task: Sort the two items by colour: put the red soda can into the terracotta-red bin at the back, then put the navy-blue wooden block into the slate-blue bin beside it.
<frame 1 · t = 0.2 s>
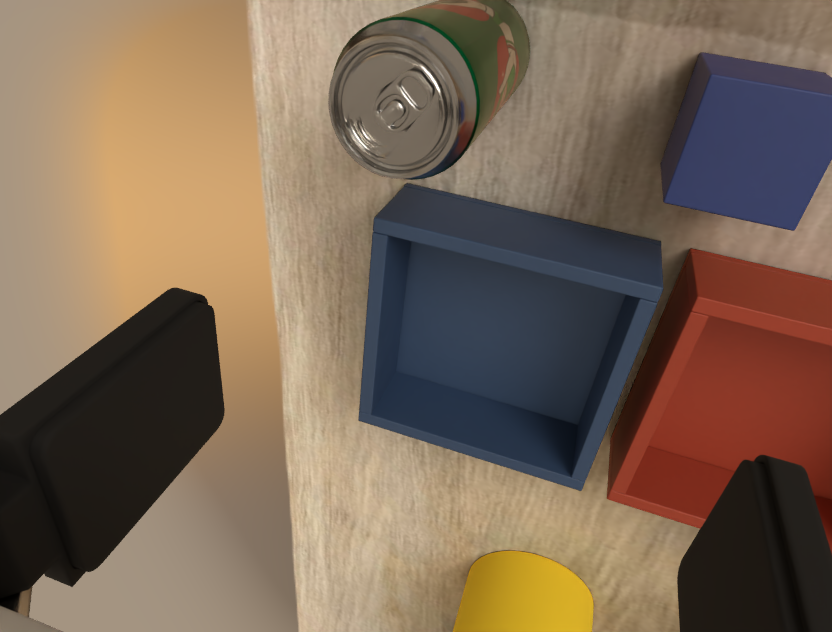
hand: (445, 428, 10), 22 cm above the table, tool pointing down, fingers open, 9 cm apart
blue block: (737, 122, 26), on the table
red bin: (773, 388, 32), on the table
blue bin: (503, 316, 35), on the table
soda can: (478, 50, 28), on the table
tape roll: (529, 591, 48), on the table
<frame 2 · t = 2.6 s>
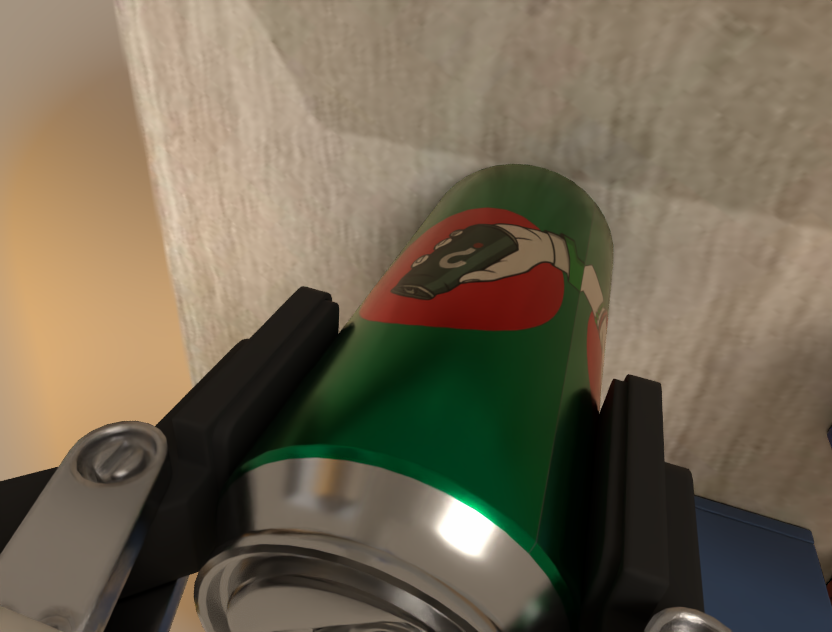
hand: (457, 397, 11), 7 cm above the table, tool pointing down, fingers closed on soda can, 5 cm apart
blue bin: (546, 579, 24), on the table
soda can: (520, 243, 17), on the table, touching gripper
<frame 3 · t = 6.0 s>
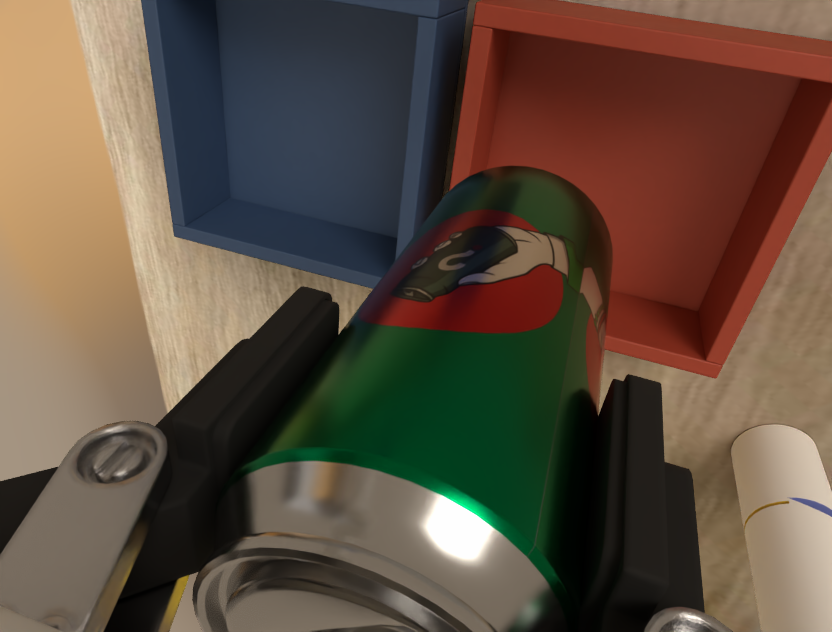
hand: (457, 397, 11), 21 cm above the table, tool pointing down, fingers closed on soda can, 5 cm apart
red bin: (613, 171, 29), on the table
blue bin: (327, 113, 32), on the table
soda can: (520, 244, 17), point 14 cm above the table, touching gripper
tube: (772, 451, 34), on the table
when the fingers open (7 cm above the table, at t = 9.7 s): soda can stays where it is, resting on red bin.
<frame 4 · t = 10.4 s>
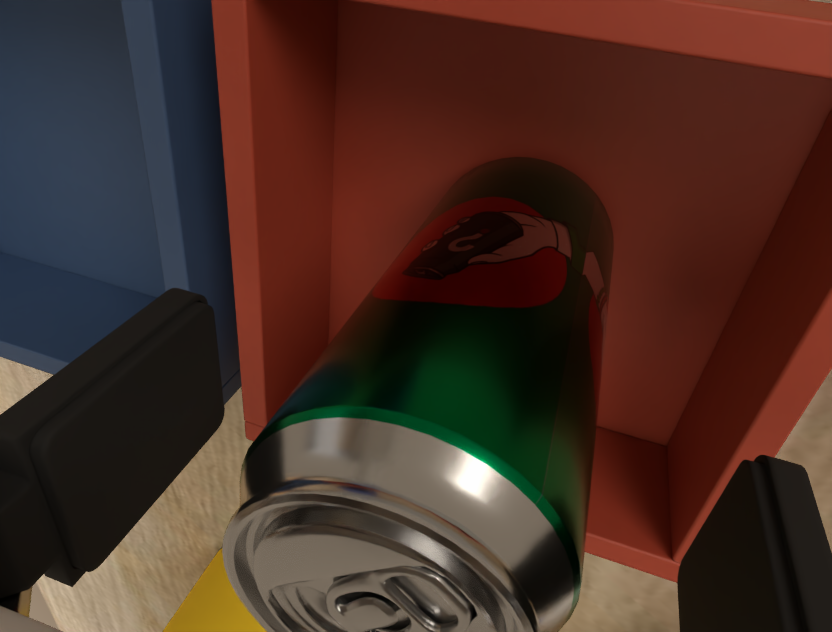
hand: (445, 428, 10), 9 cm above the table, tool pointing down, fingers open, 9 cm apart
red bin: (526, 232, 18), on the table
blue bin: (101, 133, 21), on the table
soda can: (523, 234, 17), resting on red bin
tape roll: (293, 598, 33), on the table
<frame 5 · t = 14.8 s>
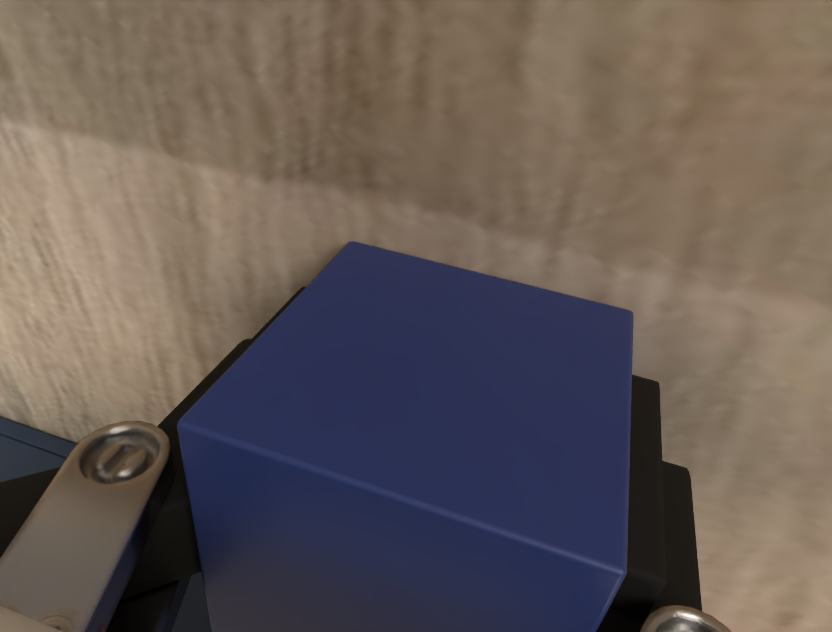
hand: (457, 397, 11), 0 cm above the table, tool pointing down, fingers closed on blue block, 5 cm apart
blue block: (463, 383, 12), on the table, touching gripper
blue bin: (183, 604, 20), on the table
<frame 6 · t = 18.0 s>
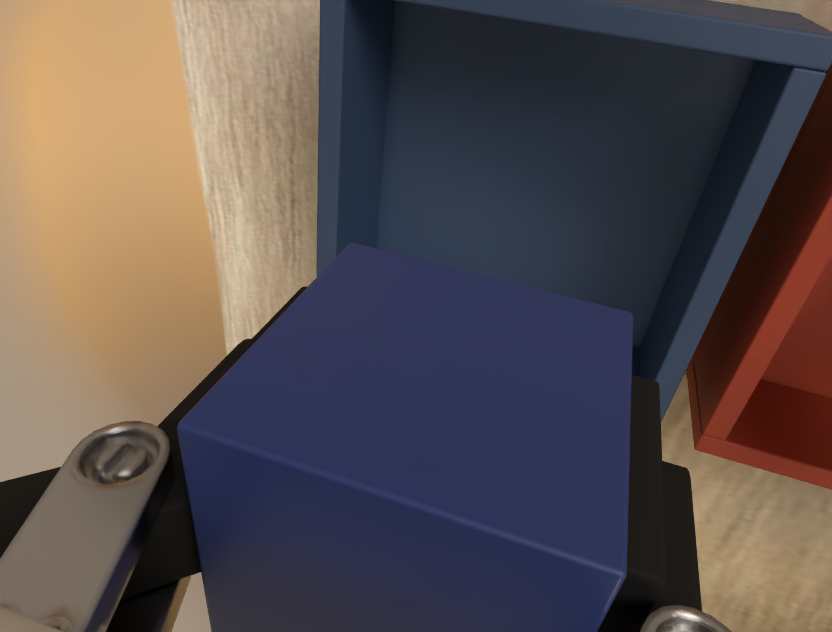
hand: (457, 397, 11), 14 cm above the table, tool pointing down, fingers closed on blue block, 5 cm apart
blue block: (463, 384, 12), point 14 cm above the table, touching gripper
blue bin: (531, 178, 23), on the table
when the fingers open (2 cm above the table, at t = 21.5 s): blue block stays where it is, resting on blue bin.
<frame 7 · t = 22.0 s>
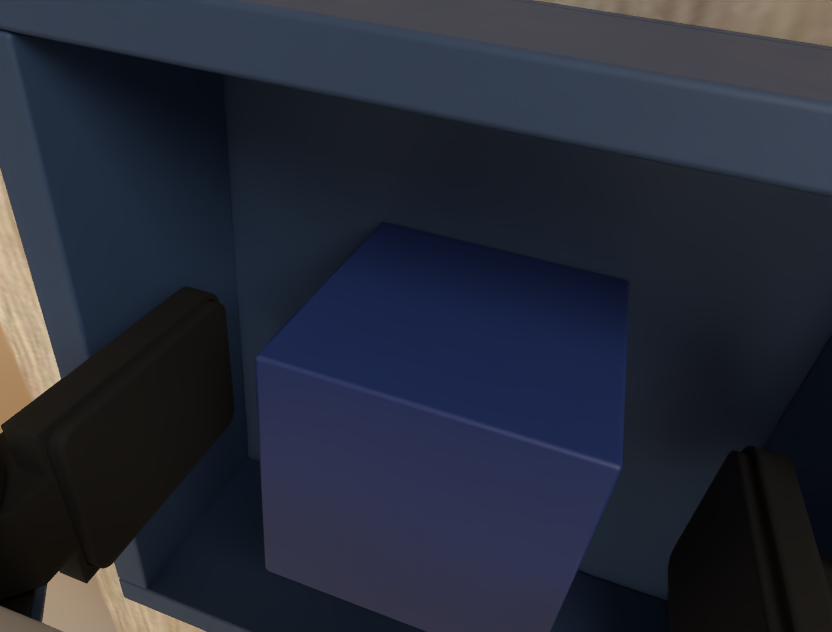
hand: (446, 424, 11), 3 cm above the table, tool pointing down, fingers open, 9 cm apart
blue block: (479, 349, 13), resting on blue bin
blue bin: (484, 339, 13), on the table
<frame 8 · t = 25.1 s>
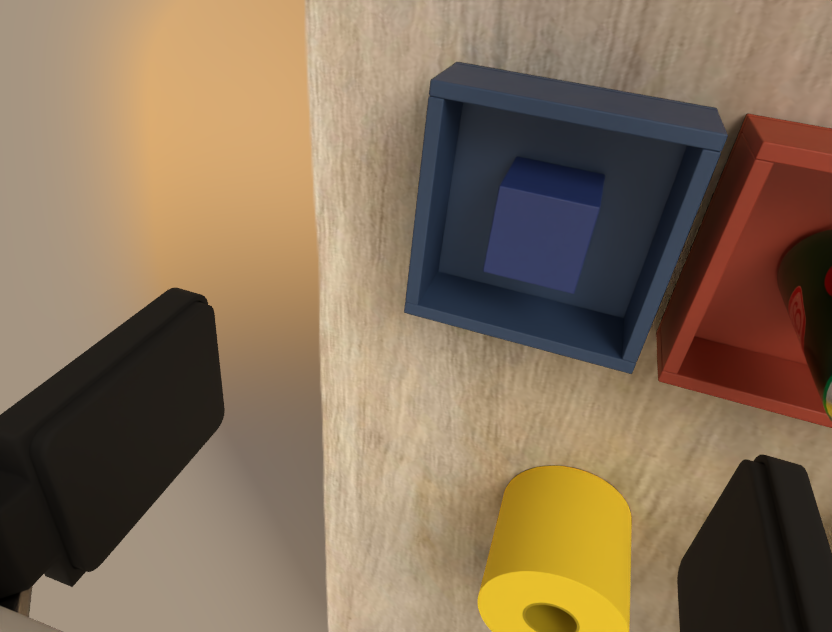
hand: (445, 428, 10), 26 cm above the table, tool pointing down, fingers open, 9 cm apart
blue block: (549, 206, 35), resting on blue bin
red bin: (827, 265, 32), on the table
blue bin: (551, 203, 35), on the table
soda can: (828, 266, 32), resting on red bin
tape roll: (565, 510, 48), on the table
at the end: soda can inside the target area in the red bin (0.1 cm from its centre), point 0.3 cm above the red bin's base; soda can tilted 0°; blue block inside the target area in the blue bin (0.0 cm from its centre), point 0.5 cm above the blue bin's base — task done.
